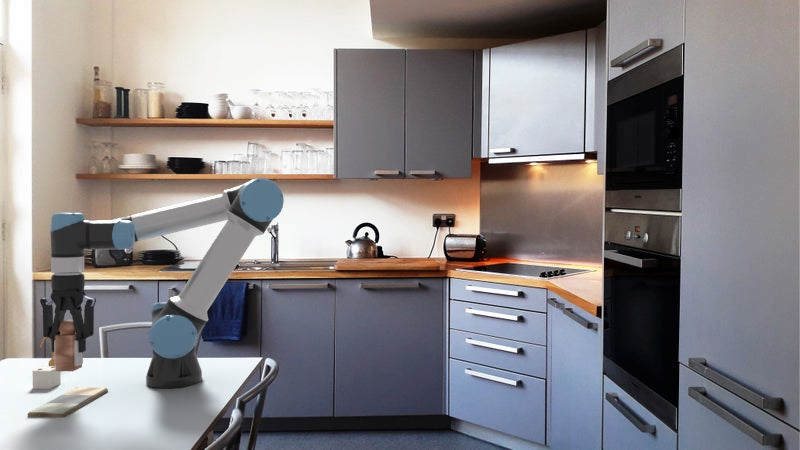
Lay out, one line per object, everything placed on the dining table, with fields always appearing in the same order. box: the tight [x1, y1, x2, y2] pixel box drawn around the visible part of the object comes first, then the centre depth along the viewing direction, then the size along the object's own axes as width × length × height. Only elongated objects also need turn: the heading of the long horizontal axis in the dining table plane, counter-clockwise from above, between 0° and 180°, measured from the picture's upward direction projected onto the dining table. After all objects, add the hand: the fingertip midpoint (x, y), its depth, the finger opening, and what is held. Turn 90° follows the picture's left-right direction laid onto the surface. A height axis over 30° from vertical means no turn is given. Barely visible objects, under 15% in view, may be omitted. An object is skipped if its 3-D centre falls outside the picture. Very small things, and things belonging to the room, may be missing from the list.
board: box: [27, 386, 109, 418], centre depth 165 cm, size 9×21×1 cm, turn 177°
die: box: [32, 365, 62, 390], centre depth 182 cm, size 5×5×5 cm
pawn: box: [54, 319, 83, 372], centre depth 165 cm, size 4×4×13 cm
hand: (68, 364), depth 165 cm, fingers closed on pawn, 4 cm apart
